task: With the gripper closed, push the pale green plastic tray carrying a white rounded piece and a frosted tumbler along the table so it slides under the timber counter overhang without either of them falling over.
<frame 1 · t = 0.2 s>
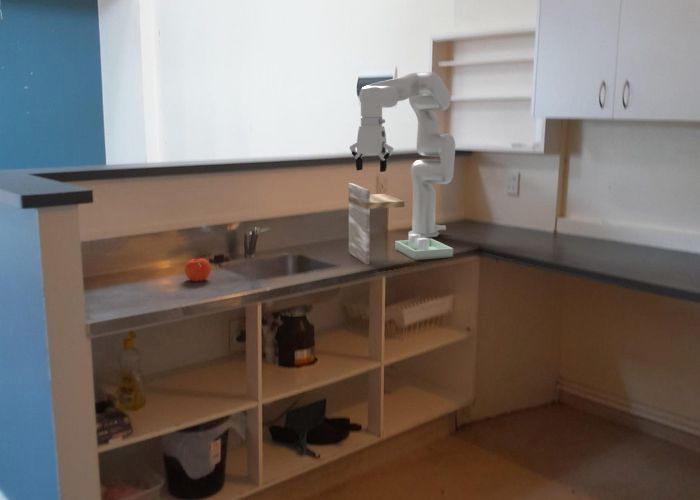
hand: (371, 170, 255), 31 cm above the table, tool pointing down, fingers open, 9 cm apart
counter: (375, 256, 259), on the table
white rounded piece: (422, 253, 260), point 1 cm above the table, touching tray
apple: (198, 280, 226), on the table
tray: (423, 248, 264), point 2 cm above the table, slide at 0.0 cm, touching white rounded piece, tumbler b
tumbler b: (414, 249, 267), point 1 cm above the table, touching tray
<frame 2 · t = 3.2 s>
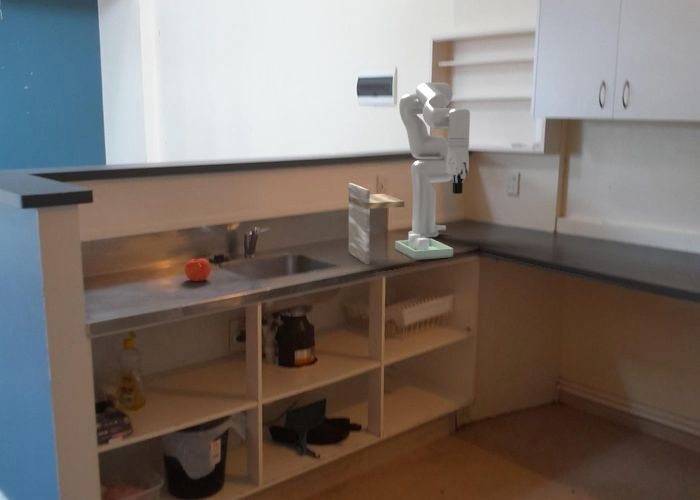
hand: (457, 193, 263), 22 cm above the table, tool pointing down, fingers closed
nothing on the table moved.
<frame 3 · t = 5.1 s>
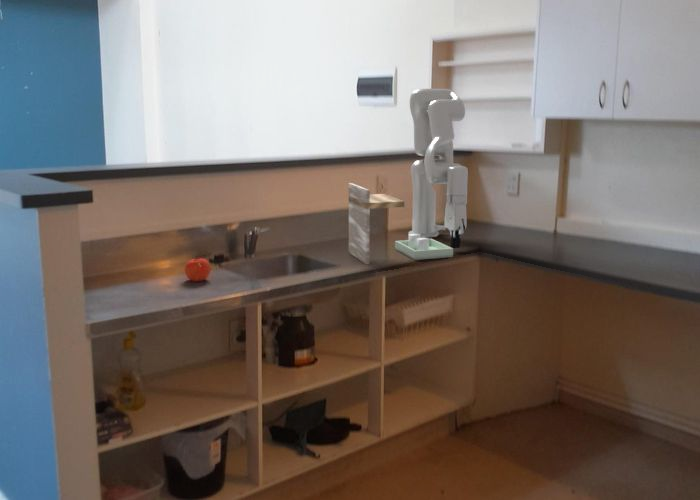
hand: (455, 247, 268), 1 cm above the table, tool pointing down, fingers closed
nothing on the table moved.
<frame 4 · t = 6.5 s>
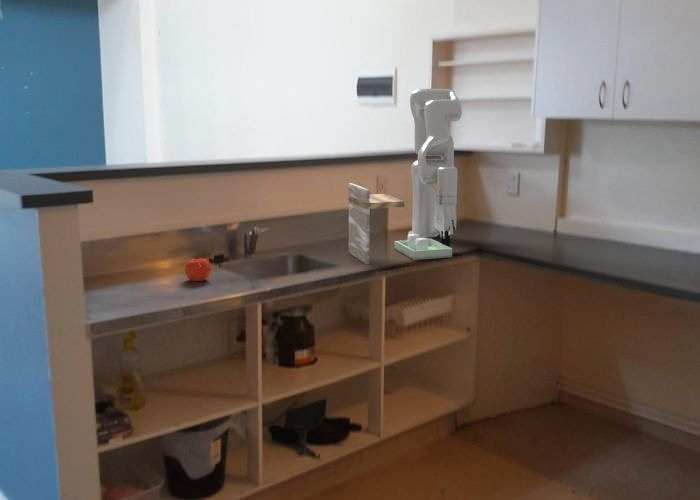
hand: (444, 248, 267), 1 cm above the table, tool pointing down, fingers closed
tray: (422, 248, 264), point 2 cm above the table, slide at 0.3 cm, touching gripper, white rounded piece, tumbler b
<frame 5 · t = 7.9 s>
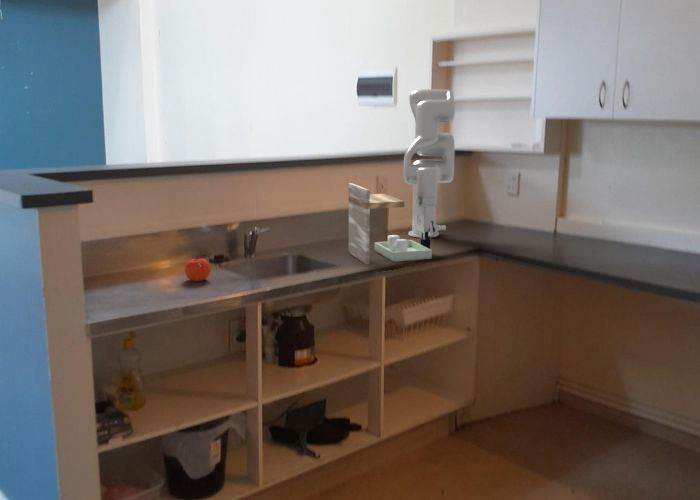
hand: (425, 249, 264), 1 cm above the table, tool pointing down, fingers closed
white rounded piece: (401, 255, 257), point 1 cm above the table, touching tray
tray: (402, 250, 262), point 2 cm above the table, slide at 8.4 cm, touching gripper, white rounded piece, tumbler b
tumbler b: (393, 250, 265), point 1 cm above the table, touching tray
everything else where it was.
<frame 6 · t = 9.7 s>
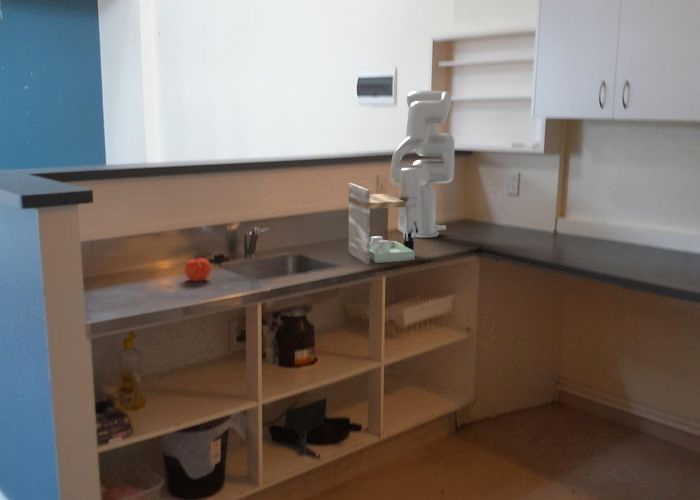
hand: (408, 250, 262), 1 cm above the table, tool pointing down, fingers closed
white rounded piece: (384, 256, 255), point 1 cm above the table, touching tray
tray: (385, 251, 260), point 2 cm above the table, slide at 15.0 cm, touching gripper, white rounded piece, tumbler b
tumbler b: (376, 251, 263), point 1 cm above the table, touching tray
everything else where it was.
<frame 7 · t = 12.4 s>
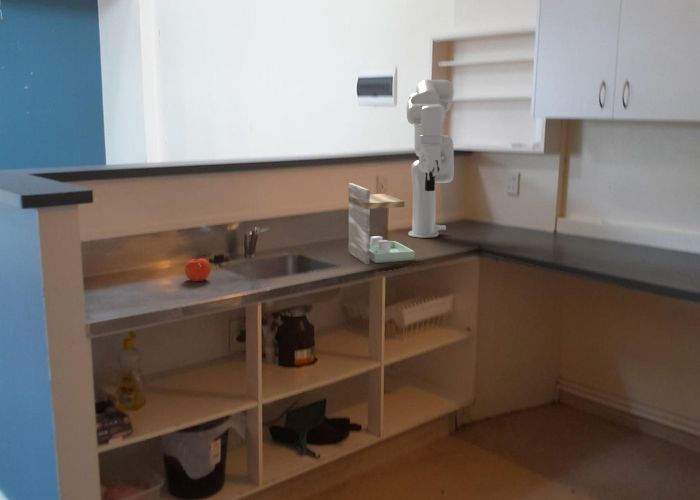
hand: (429, 190, 261), 23 cm above the table, tool pointing down, fingers closed
tray: (385, 251, 260), point 2 cm above the table, slide at 15.1 cm, touching white rounded piece, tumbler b
everything else where it was.
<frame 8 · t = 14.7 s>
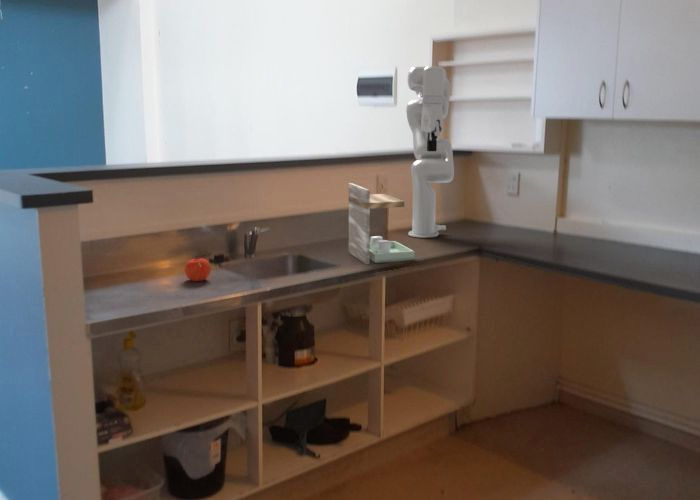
hand: (431, 151, 266), 37 cm above the table, tool pointing down, fingers closed
nothing on the table moved.
at the end: tray slide at 15.1 cm; white rounded piece inside the target area on the tray (4.5 cm from its centre), point 0.9 cm above the tray's base; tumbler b inside the target area on the tray (4.5 cm from its centre), point 0.9 cm above the tray's base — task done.
